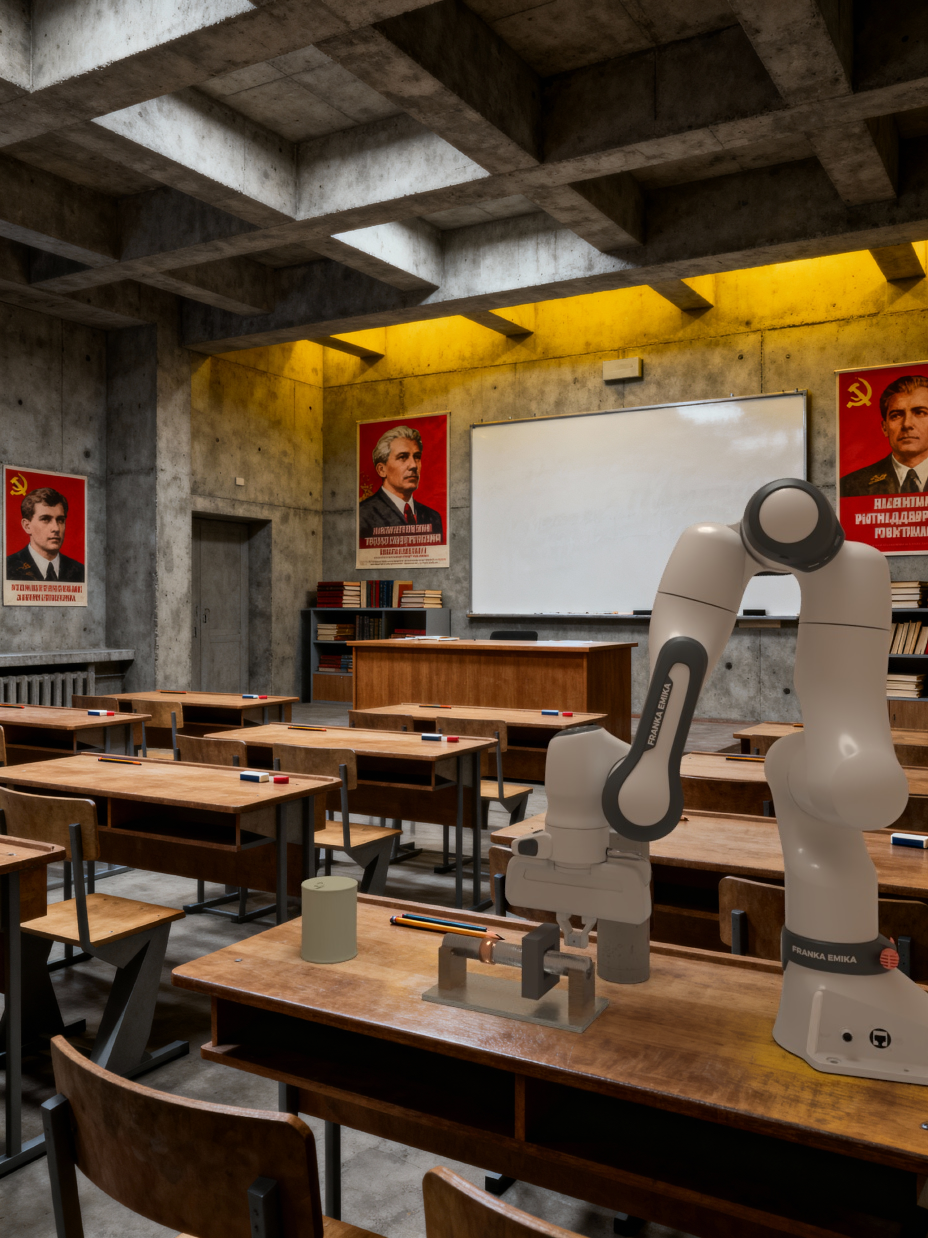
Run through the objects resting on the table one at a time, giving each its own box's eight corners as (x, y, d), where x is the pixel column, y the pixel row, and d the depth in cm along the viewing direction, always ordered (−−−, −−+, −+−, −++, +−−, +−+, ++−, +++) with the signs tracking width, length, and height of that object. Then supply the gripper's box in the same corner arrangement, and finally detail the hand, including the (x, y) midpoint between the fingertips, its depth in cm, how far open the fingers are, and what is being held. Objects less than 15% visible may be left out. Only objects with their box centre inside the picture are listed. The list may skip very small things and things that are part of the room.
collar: (559, 981, 131) (560, 925, 131) (537, 1000, 124) (537, 940, 124) (544, 978, 132) (544, 922, 132) (521, 997, 125) (521, 938, 125)
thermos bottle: (649, 967, 144) (649, 787, 145) (649, 985, 136) (649, 795, 137) (598, 963, 146) (598, 786, 147) (595, 981, 138) (595, 793, 139)
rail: (609, 1004, 129) (609, 945, 129) (581, 1033, 119) (581, 969, 120) (458, 975, 140) (458, 920, 141) (421, 999, 131) (422, 941, 131)
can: (288, 957, 148) (289, 882, 149) (325, 941, 156) (326, 870, 156) (332, 968, 143) (333, 890, 144) (369, 951, 151) (369, 878, 152)
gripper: (657, 848, 124) (657, 952, 124) (519, 833, 134) (518, 929, 133) (644, 857, 119) (643, 966, 118) (500, 841, 128) (499, 941, 128)
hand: (576, 946), depth 126 cm, fingers closed
